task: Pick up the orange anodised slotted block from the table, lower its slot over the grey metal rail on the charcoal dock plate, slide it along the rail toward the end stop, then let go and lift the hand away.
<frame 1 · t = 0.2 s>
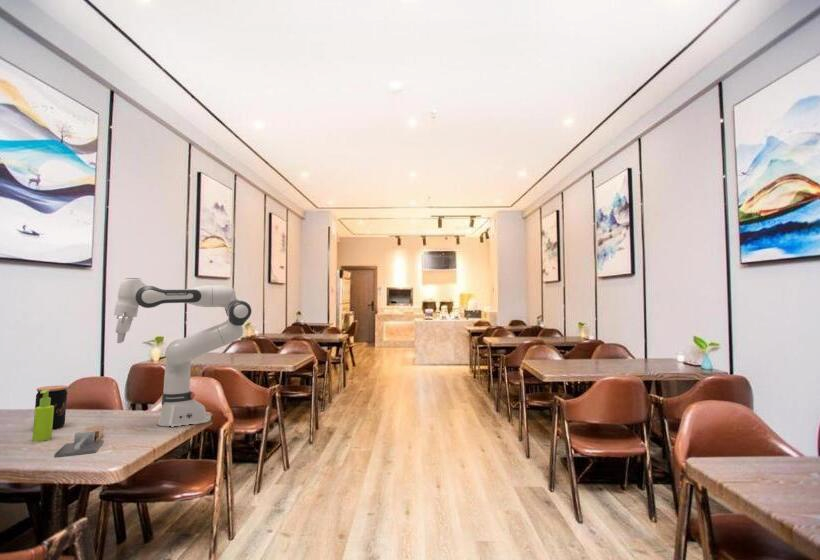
hand: (120, 342, 191), 38 cm above the table, tool pointing down, fingers open, 8 cm apart
lock block: (92, 438, 173), on the table
soap dispenser: (41, 440, 170), on the table
coffee jar: (49, 428, 187), on the table
dock plate: (80, 449, 159), on the table
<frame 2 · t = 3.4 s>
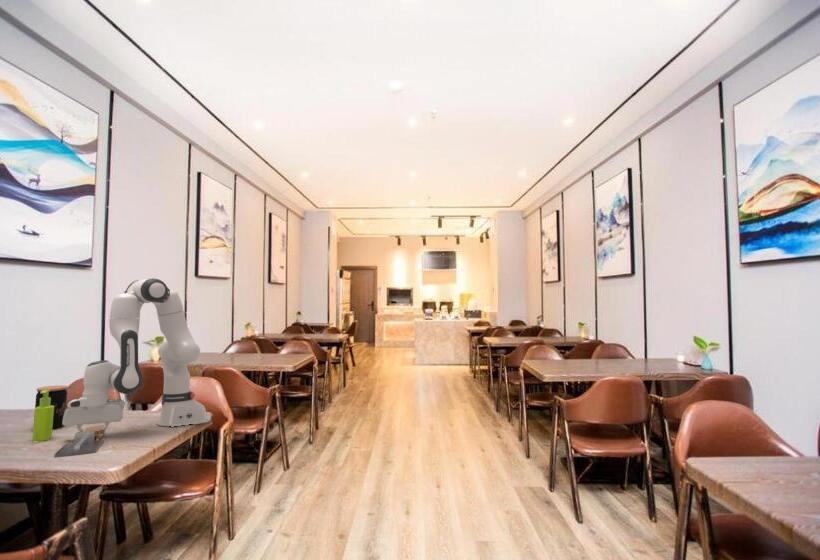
hand: (92, 434, 173), 2 cm above the table, tool pointing down, fingers closed on lock block, 6 cm apart
lock block: (92, 438, 173), on the table, touching gripper
everything else where it was.
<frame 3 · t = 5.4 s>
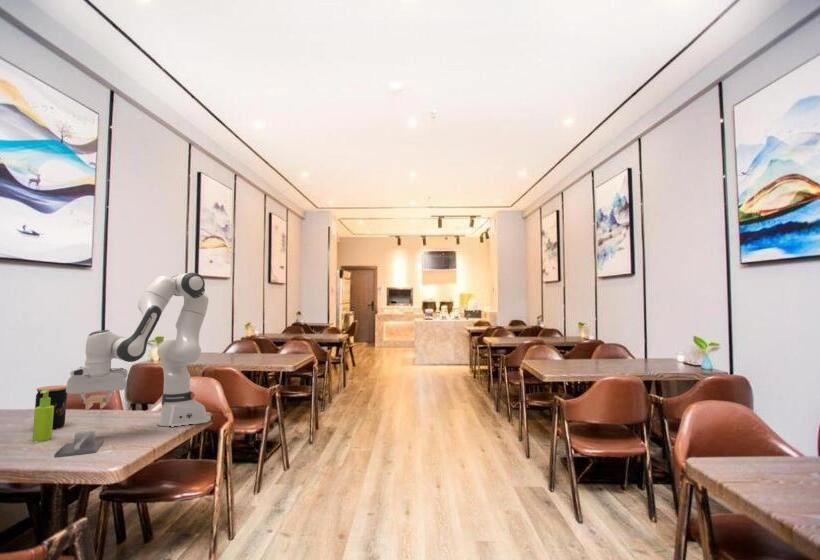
hand: (96, 402, 174), 14 cm above the table, tool pointing down, fingers closed on lock block, 6 cm apart
lock block: (96, 406, 174), point 13 cm above the table, touching gripper
everything else where it was.
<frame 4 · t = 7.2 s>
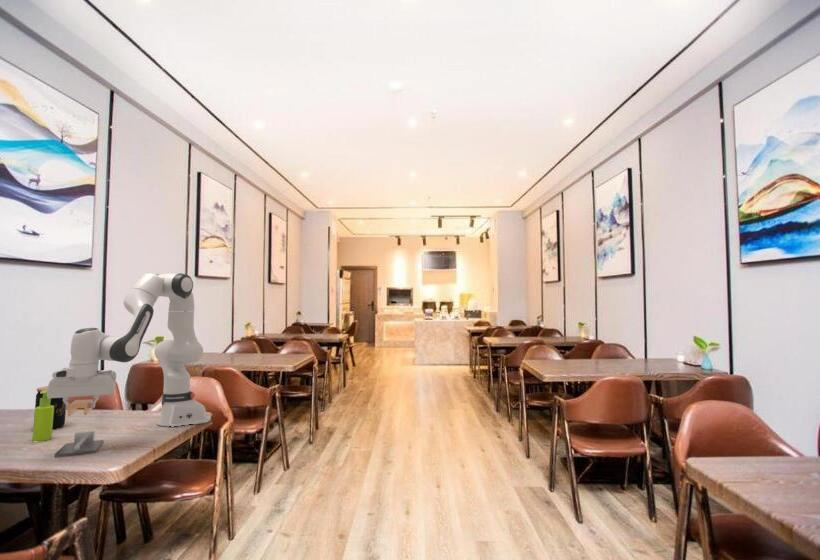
hand: (80, 408, 157), 16 cm above the table, tool pointing down, fingers closed on lock block, 6 cm apart
lock block: (80, 412, 157), point 14 cm above the table, touching gripper
everything else where it was.
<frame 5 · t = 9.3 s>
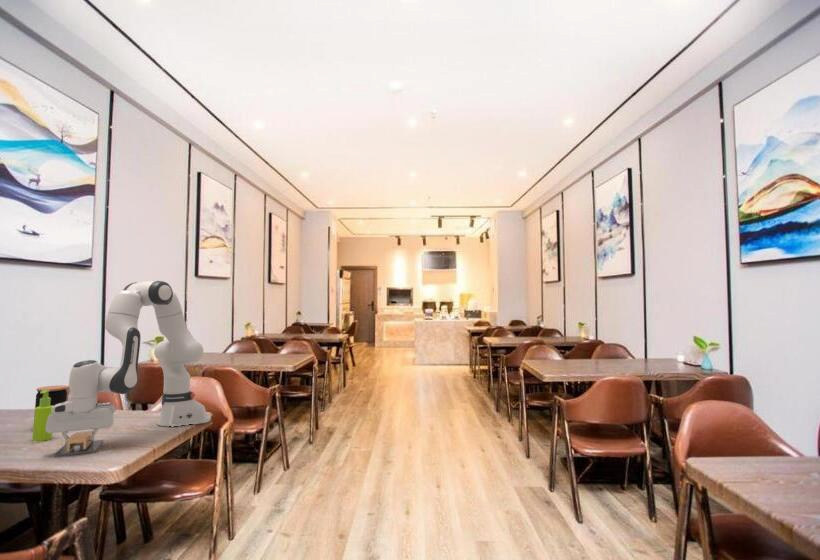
hand: (79, 441, 157), 3 cm above the table, tool pointing down, fingers closed on lock block, 6 cm apart
lock block: (79, 446, 157), point 2 cm above the table, touching gripper
everything else where it was.
when the fingers open (4 cm above the table, at t = 10.9 s): lock block stays where it is, resting on dock plate.
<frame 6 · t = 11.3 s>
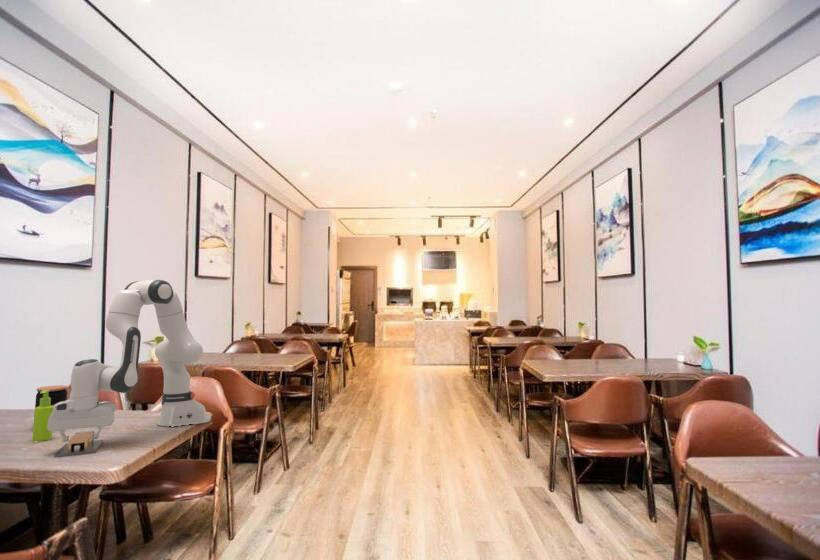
hand: (80, 439, 159), 4 cm above the table, tool pointing down, fingers open, 8 cm apart
lock block: (80, 446, 159), point 1 cm above the table, touching dock plate
everything else where it was.
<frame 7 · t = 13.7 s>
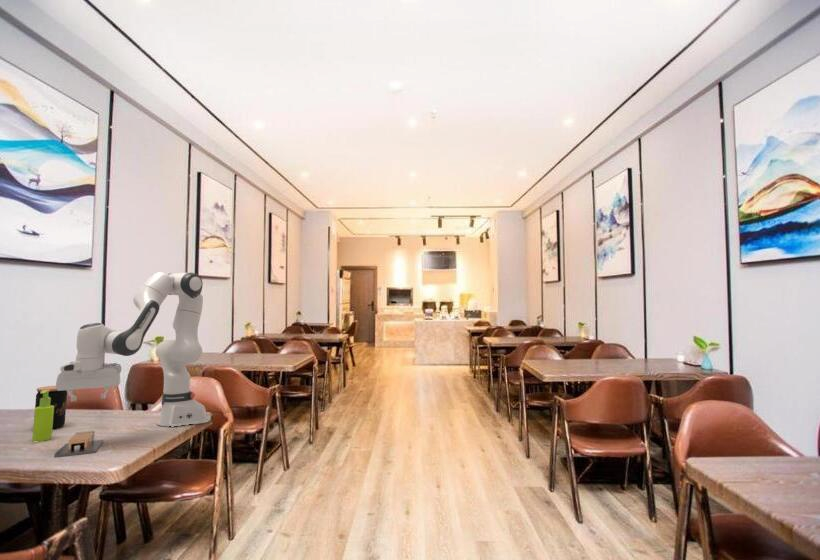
hand: (88, 399, 165), 18 cm above the table, tool pointing down, fingers open, 8 cm apart
nothing on the table moved.
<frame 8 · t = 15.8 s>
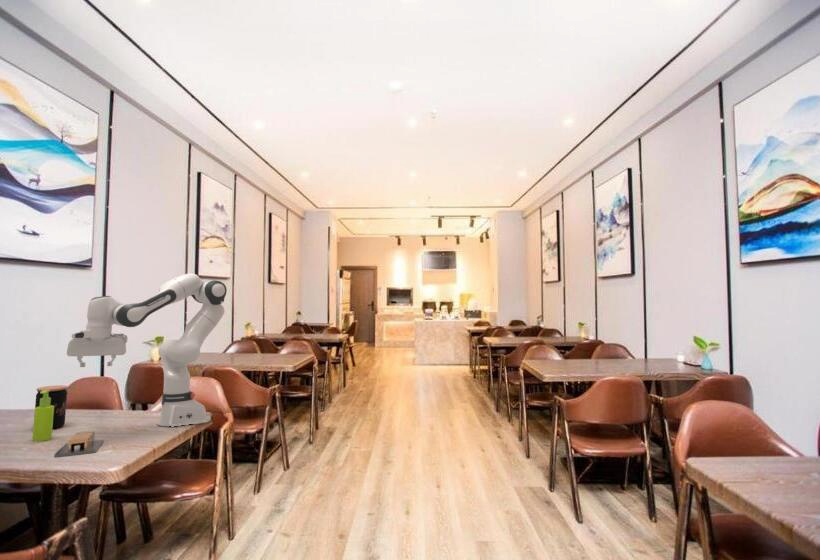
hand: (96, 366, 177), 29 cm above the table, tool pointing down, fingers open, 8 cm apart
nothing on the table moved.
at the end: lock block 0.7 cm off-centre on the dock plate, point 1.0 cm above the dock plate's base; lock block tilted 0°; the gripper is holding nothing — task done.
